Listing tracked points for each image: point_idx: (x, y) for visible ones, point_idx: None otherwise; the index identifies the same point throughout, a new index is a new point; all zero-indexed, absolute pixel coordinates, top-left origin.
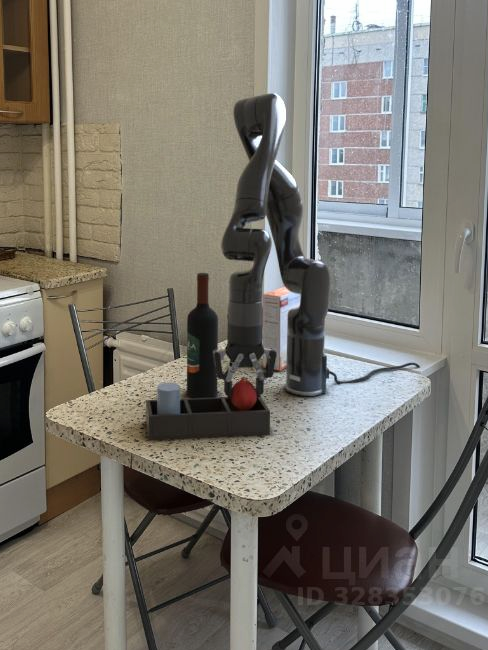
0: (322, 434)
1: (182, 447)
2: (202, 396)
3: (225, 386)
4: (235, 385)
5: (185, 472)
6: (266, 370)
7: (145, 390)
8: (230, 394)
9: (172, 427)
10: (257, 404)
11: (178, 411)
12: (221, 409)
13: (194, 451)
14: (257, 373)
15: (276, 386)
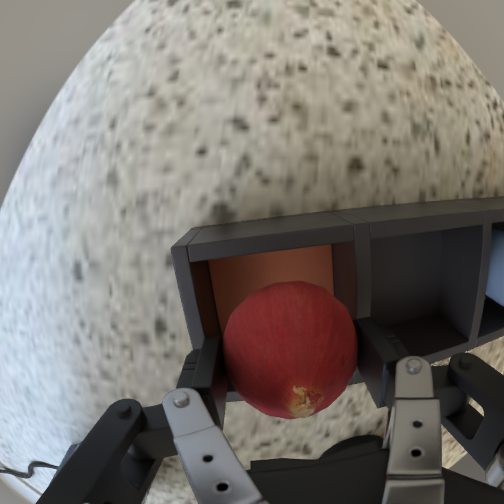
0: (47, 236)
1: (458, 144)
2: (363, 441)
3: (404, 348)
4: (348, 369)
5: (435, 20)
6: (148, 453)
7: (451, 441)
8: (366, 324)
9: (497, 201)
10: None
11: (502, 255)
12: None
13: (431, 114)
14: (209, 422)
15: (173, 486)
